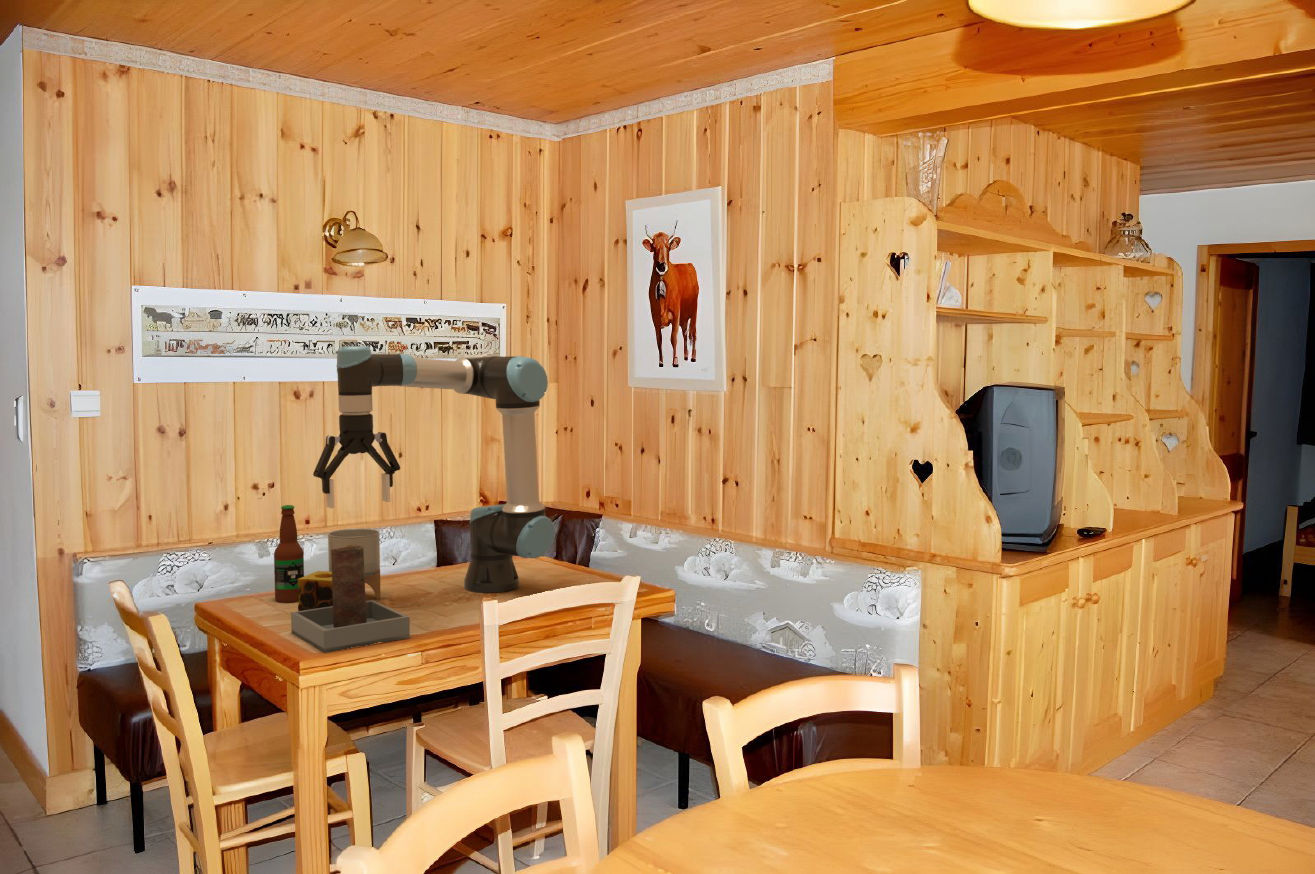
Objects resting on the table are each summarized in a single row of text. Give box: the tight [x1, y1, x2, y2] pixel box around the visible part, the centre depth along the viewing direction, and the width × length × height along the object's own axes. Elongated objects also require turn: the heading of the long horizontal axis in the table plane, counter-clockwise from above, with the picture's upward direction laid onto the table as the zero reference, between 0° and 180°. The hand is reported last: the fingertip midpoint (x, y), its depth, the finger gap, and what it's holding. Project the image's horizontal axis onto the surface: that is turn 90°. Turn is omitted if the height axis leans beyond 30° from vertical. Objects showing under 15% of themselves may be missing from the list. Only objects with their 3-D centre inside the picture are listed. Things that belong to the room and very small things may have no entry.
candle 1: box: [297, 570, 333, 611], centre depth 260 cm, size 10×10×10 cm
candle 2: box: [331, 545, 367, 628], centre depth 240 cm, size 8×7×20 cm
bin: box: [290, 599, 411, 654], centre depth 241 cm, size 20×20×5 cm
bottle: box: [273, 504, 305, 604], centre depth 274 cm, size 7×7×25 cm
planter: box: [327, 527, 382, 599], centre depth 276 cm, size 13×13×18 cm
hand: (358, 504), depth 244 cm, fingers open, 13 cm apart
